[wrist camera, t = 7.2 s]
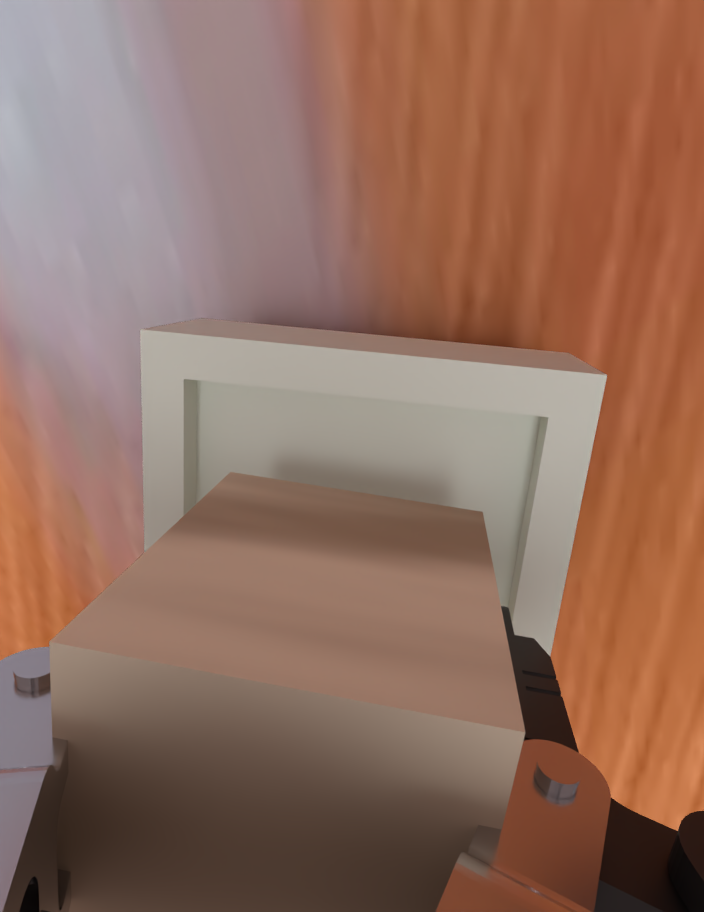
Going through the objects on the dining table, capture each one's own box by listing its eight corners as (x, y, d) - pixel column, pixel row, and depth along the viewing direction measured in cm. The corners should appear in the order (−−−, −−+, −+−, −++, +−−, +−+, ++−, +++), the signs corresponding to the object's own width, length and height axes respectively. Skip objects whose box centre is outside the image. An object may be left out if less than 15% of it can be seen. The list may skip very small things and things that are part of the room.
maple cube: (230, 472, 12) (48, 641, 7) (482, 511, 12) (525, 732, 6) (216, 682, 14) (59, 973, 8) (441, 725, 13) (443, 1066, 8)
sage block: (202, 318, 17) (139, 329, 14) (568, 353, 16) (606, 374, 13) (199, 630, 20) (147, 707, 16) (509, 676, 19) (527, 769, 15)
